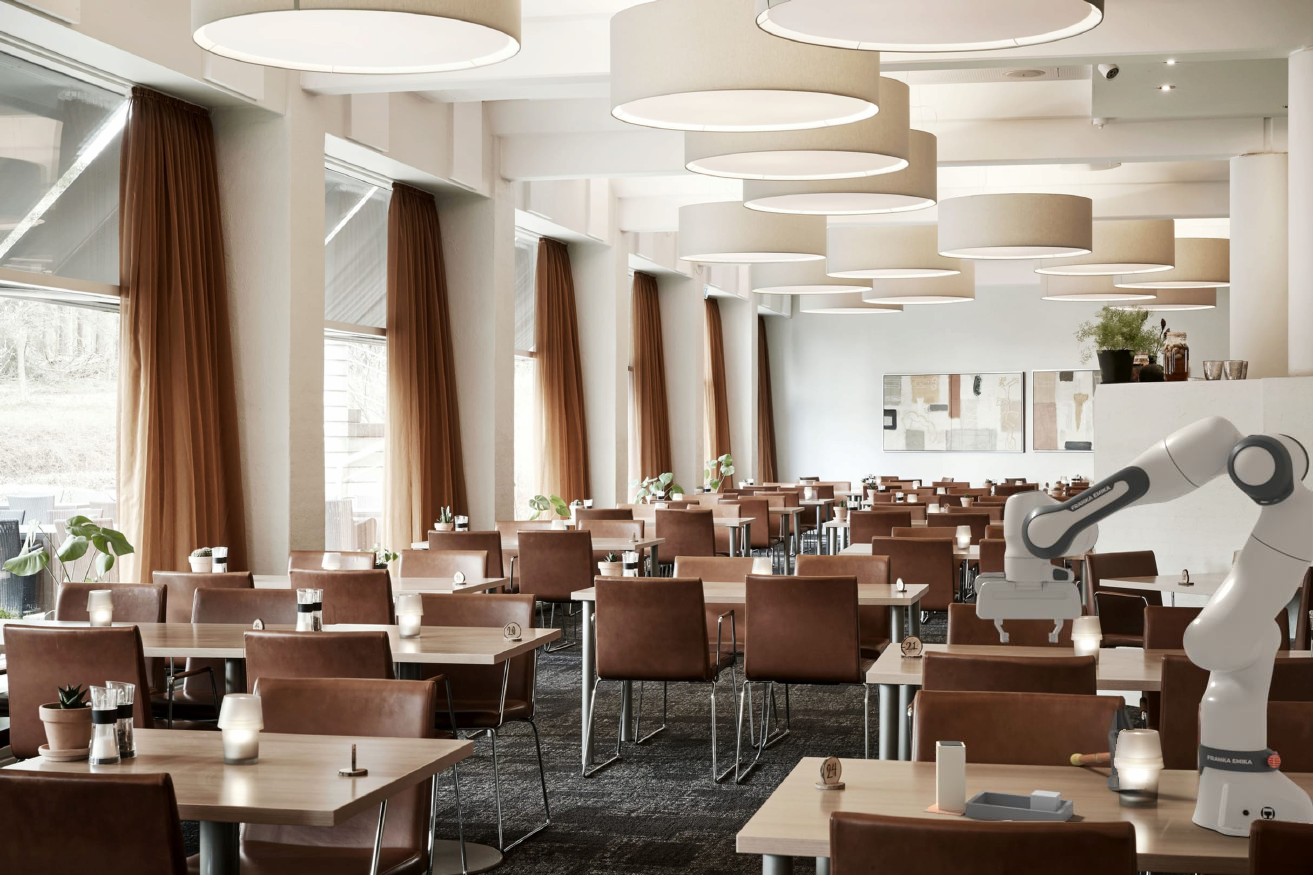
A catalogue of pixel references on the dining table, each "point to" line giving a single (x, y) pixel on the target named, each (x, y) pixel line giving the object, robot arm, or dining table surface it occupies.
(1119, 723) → the hammer
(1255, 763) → the robot arm
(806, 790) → the dining table surface
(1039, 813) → the parts tray
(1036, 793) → the grey block
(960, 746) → the white box
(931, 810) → the pad
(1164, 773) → the dining table surface
